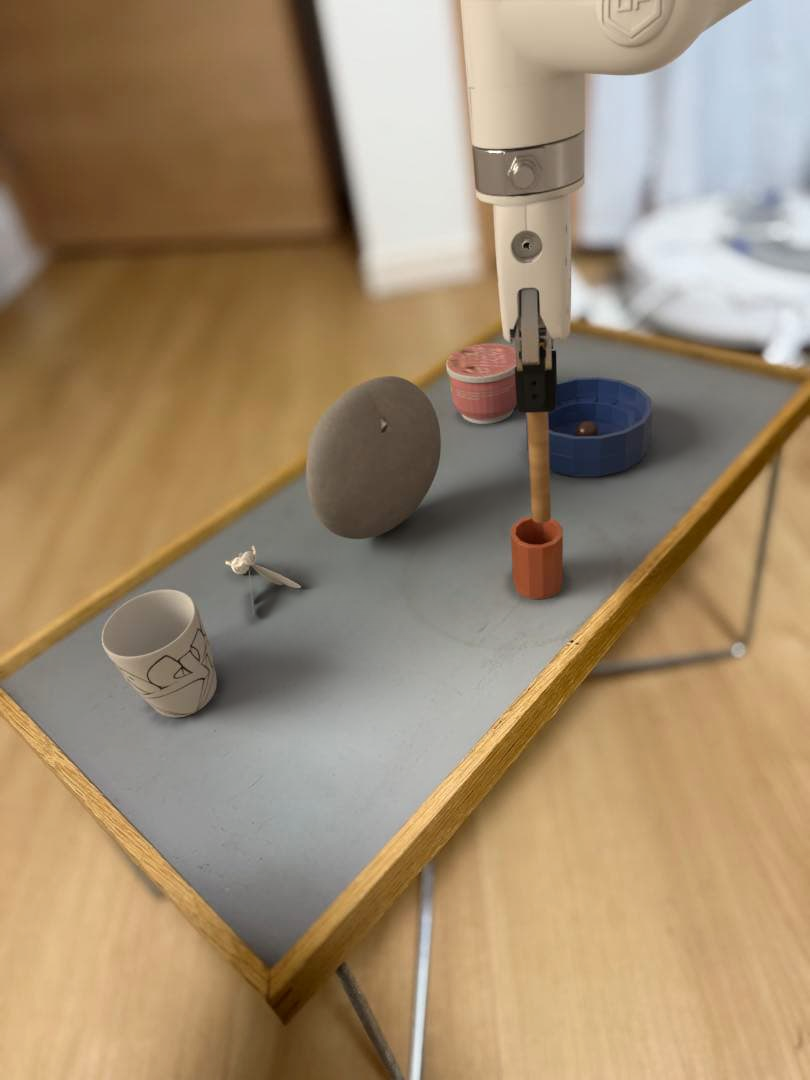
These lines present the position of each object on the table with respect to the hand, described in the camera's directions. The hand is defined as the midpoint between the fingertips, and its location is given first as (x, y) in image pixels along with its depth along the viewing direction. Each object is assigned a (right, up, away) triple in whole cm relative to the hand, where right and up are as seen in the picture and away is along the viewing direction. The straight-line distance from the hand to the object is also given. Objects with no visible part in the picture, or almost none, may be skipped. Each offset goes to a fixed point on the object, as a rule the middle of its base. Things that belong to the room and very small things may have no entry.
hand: (537, 401), depth 60 cm
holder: (+3, -16, +14) cm, 21 cm away
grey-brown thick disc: (-13, -10, +25) cm, 30 cm away
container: (+1, +7, +43) cm, 43 cm away
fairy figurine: (-28, -17, +20) cm, 38 cm away
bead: (+12, +2, +30) cm, 33 cm away
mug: (-33, -26, +10) cm, 44 cm away
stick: (+2, -10, +8) cm, 13 cm away
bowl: (+12, 0, +32) cm, 34 cm away
